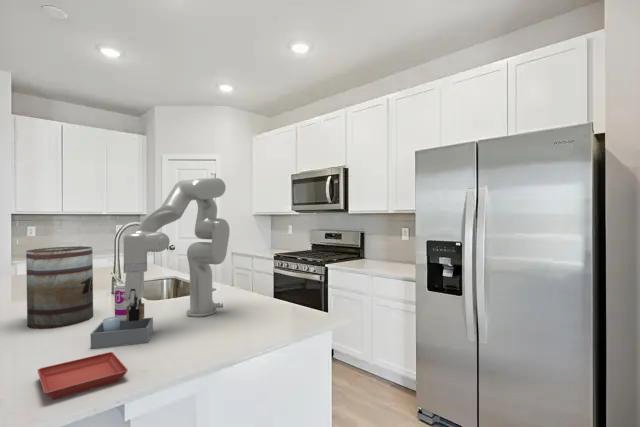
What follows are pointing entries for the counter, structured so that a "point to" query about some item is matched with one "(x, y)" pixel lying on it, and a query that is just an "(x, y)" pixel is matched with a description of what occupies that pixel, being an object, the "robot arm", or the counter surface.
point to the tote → (123, 334)
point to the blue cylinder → (111, 324)
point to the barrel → (59, 286)
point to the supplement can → (120, 302)
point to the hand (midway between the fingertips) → (135, 317)
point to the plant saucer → (81, 375)
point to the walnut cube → (141, 312)
